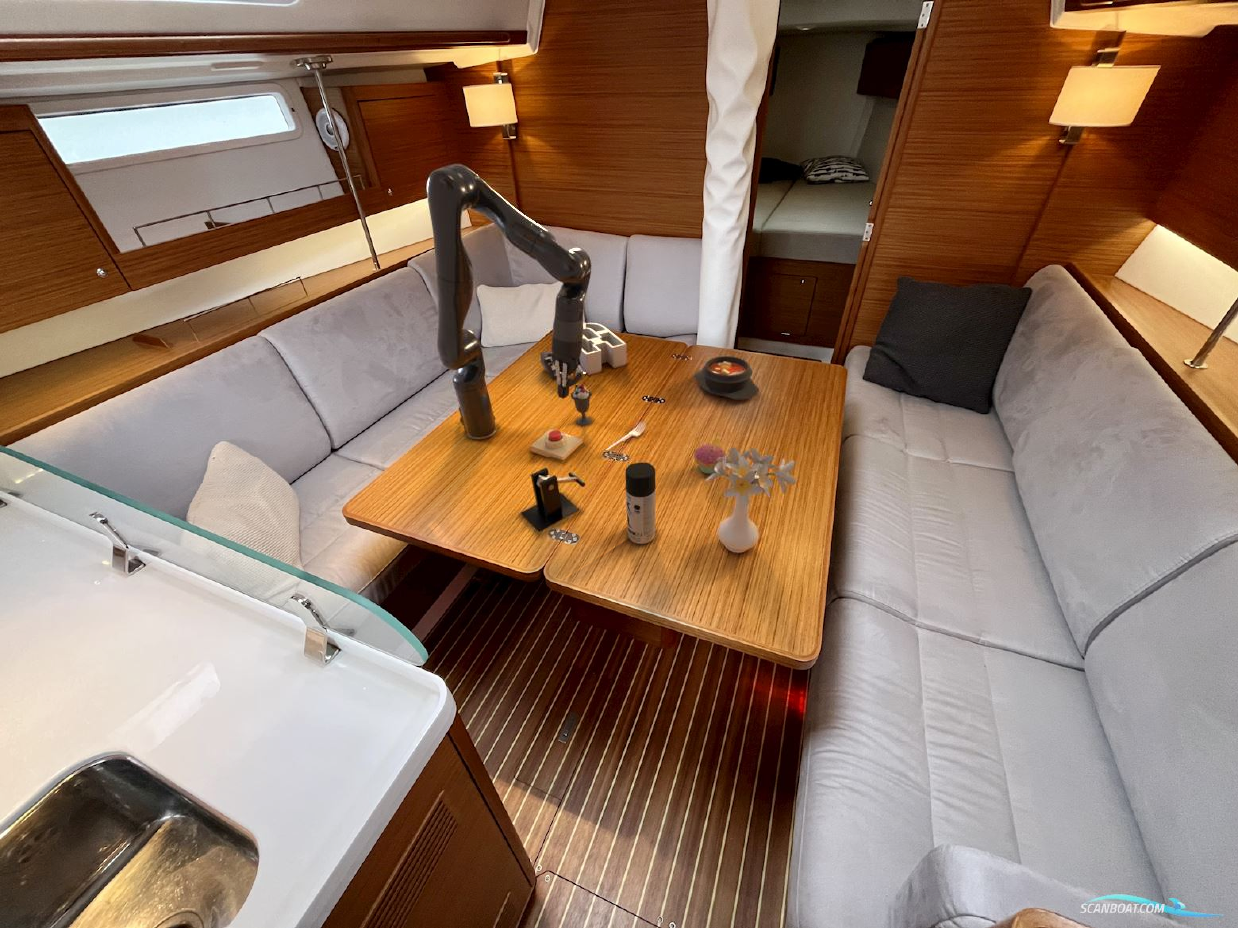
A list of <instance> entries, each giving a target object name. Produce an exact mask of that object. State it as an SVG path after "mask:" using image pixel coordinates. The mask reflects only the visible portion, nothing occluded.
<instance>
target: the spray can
mask: <svg viewBox="0 0 1238 928" xmlns="http://www.w3.org/2000/svg"><path fill="white" fill-rule="evenodd" d="M656 485H657V483H656V468H655V467H654V465H652V464H651V463H648V462H646V461H645V462H634V463H630V464H629V465H627V467H626V468H625V497H626V499H625V500H626V501H625V503H626V524H627V526H626V527H627V536H628V539H629V540H630V541H631V542H632V543H634V544H636V545H646V544H649V543H650V542H651V541H653V540H654V539H655V536H656V489H657V487H656Z"/></svg>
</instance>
